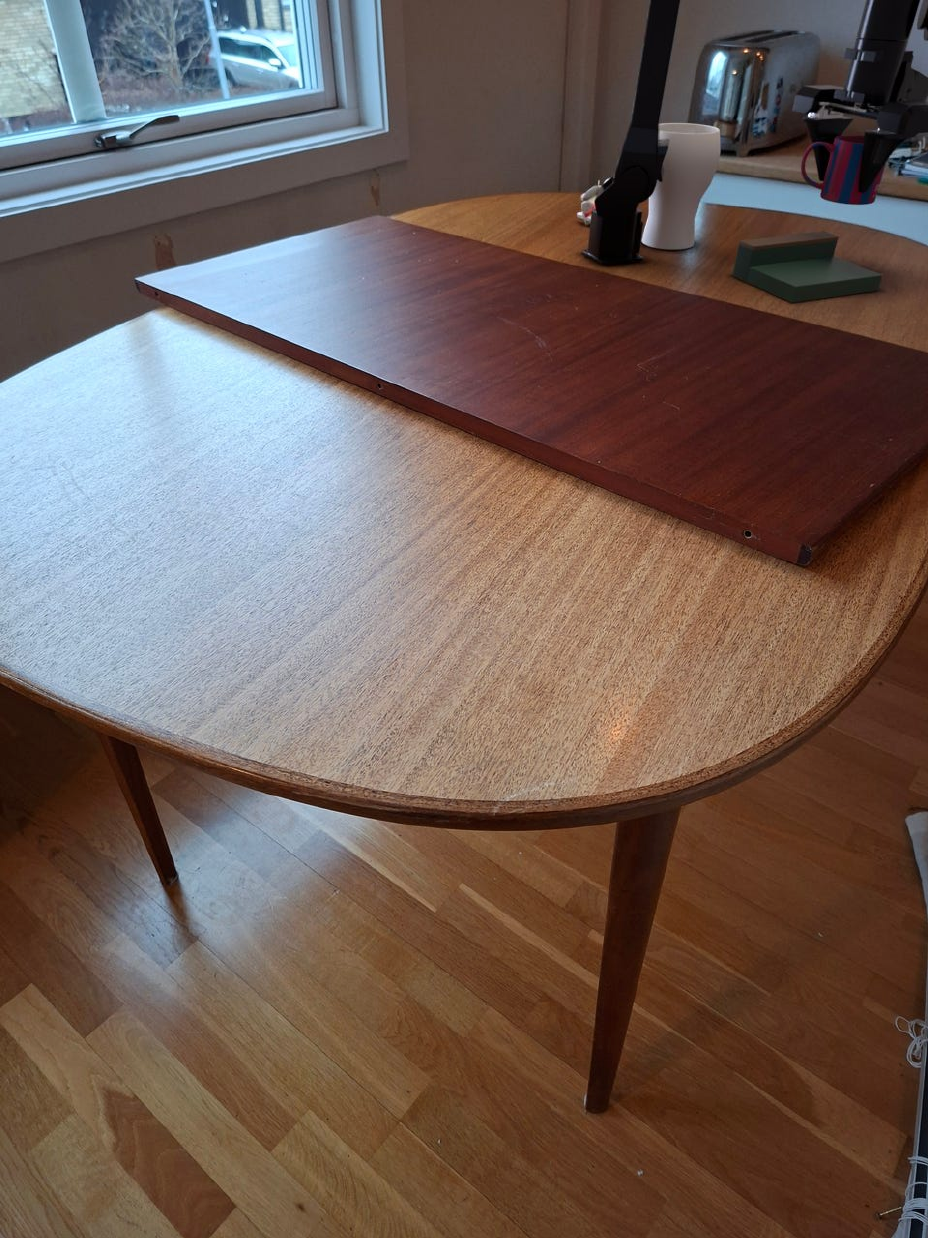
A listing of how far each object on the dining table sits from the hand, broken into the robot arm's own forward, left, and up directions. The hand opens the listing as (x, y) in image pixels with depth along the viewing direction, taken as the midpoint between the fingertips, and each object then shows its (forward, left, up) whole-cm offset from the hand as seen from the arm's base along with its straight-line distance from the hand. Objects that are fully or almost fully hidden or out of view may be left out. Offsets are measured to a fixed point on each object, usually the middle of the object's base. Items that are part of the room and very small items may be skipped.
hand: (842, 186), depth 108 cm
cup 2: (0, +1, -2) cm, 2 cm away
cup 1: (-11, +20, -11) cm, 25 cm away
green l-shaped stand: (-5, -3, -11) cm, 12 cm away
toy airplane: (-14, +34, -11) cm, 39 cm away
